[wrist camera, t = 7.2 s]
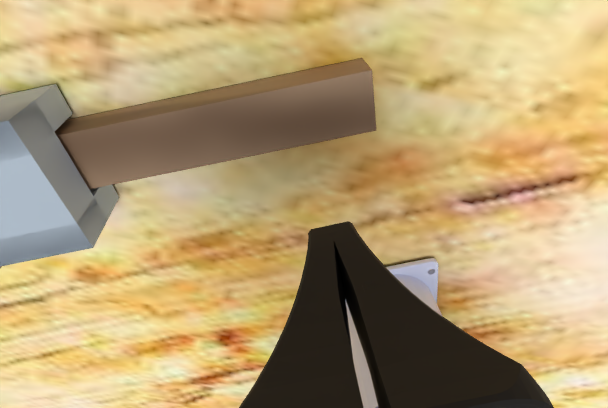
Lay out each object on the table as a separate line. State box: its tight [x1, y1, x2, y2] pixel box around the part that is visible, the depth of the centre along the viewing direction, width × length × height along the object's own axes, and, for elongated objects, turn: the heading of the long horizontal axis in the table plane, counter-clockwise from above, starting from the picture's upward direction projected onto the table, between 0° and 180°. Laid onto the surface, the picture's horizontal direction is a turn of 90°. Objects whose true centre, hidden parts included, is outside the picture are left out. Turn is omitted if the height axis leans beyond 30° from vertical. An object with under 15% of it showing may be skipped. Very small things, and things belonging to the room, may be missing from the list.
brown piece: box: [0, 58, 376, 268], centre depth 18 cm, size 8×22×4 cm, turn 100°
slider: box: [0, 84, 119, 266], centre depth 18 cm, size 7×5×4 cm
